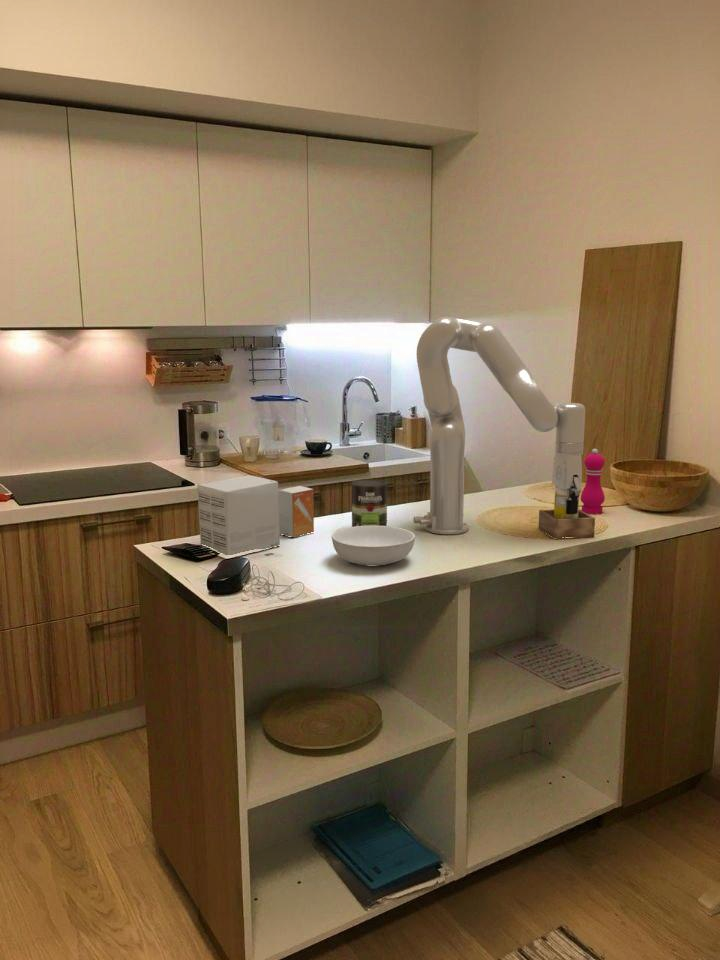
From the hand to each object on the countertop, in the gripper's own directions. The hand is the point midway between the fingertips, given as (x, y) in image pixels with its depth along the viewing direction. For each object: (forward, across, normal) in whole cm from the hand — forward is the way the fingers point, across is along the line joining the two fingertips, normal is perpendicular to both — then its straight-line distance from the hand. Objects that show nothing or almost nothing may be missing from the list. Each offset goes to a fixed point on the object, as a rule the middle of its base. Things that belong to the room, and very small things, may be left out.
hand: (566, 510), depth 226 cm
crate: (+7, 0, 0) cm, 7 cm away
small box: (+7, -13, -75) cm, 76 cm away
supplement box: (+7, -1, -91) cm, 91 cm away
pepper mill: (+7, -22, +18) cm, 29 cm away
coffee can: (+7, -13, -54) cm, 56 cm away
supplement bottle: (+4, 0, 0) cm, 4 cm away
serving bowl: (+7, +16, -58) cm, 60 cm away
